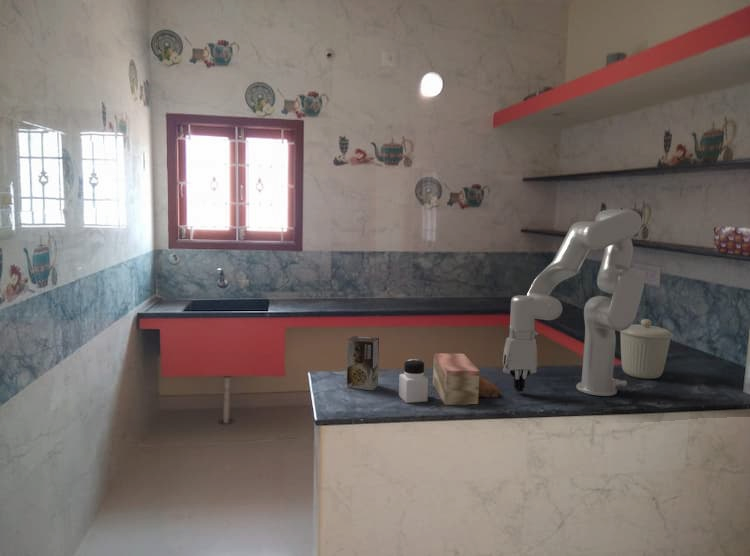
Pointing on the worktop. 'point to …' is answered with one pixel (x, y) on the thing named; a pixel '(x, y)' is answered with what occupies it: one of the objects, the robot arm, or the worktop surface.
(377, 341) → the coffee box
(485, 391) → the ceramic shard
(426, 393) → the medicine bottle
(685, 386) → the worktop surface
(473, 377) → the overhang bay
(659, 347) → the canister
